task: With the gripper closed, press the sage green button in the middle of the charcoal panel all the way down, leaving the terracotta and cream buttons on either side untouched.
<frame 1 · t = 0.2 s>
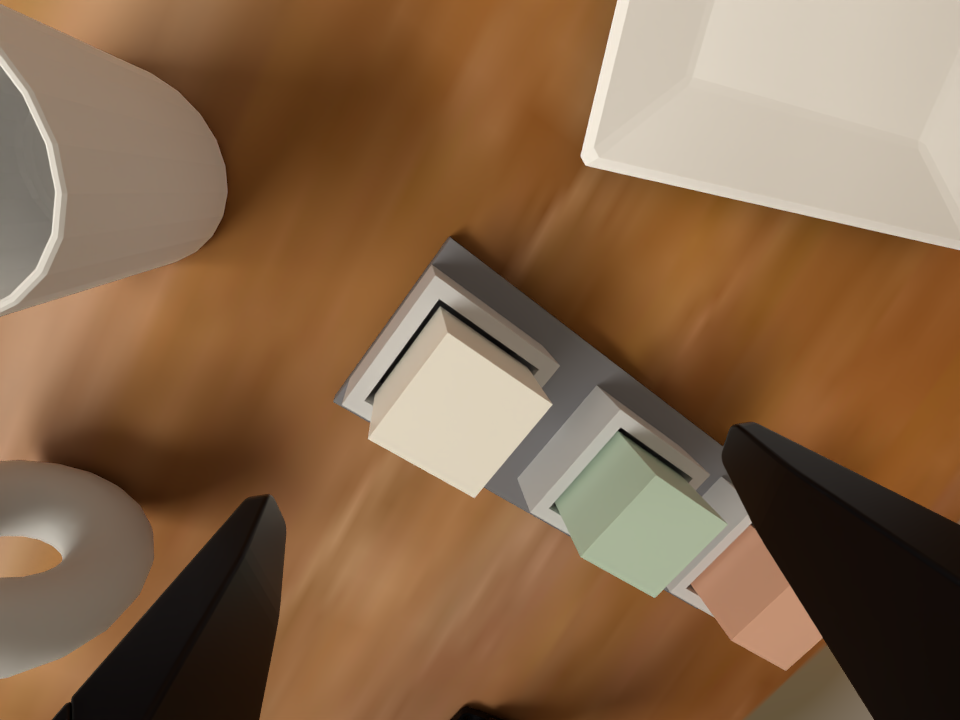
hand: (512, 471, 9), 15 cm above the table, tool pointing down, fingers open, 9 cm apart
donut: (92, 481, 24), on the table
sage button: (635, 511, 23), point 5 cm above the table, slide at 0.0 cm
mug: (104, 209, 20), on the table
terracotta button: (765, 594, 26), point 5 cm above the table, slide at 0.0 cm
button panel: (594, 454, 28), on the table
cream button: (456, 399, 19), point 5 cm above the table, slide at 0.0 cm
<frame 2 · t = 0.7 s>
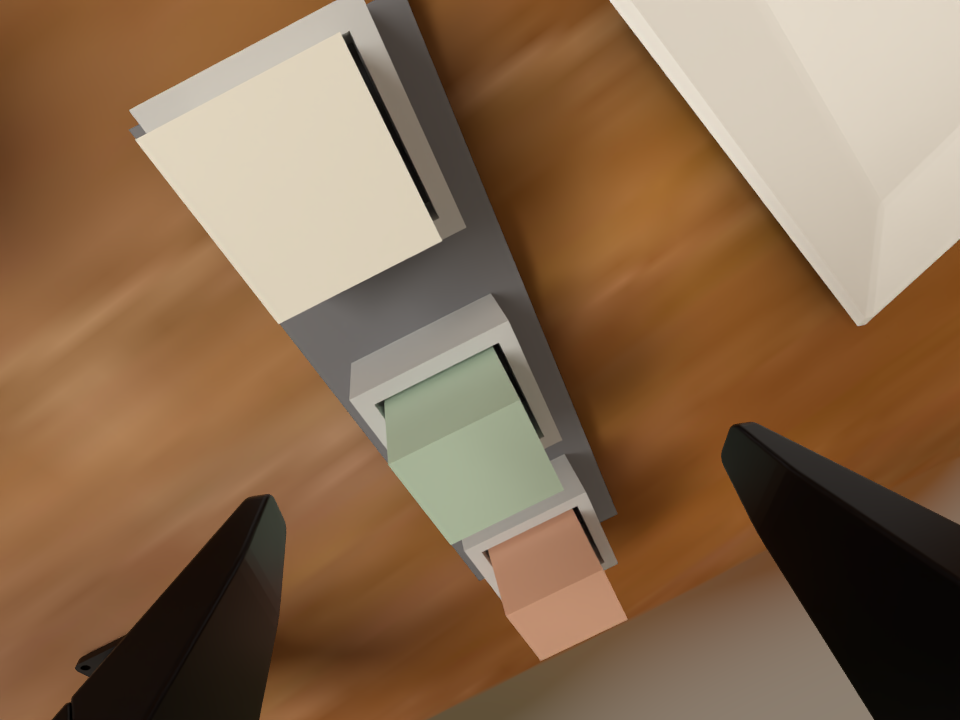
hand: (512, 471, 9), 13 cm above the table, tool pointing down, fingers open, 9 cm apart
sage button: (471, 443, 19), point 5 cm above the table, slide at 0.0 cm
terracotta button: (555, 581, 24), point 5 cm above the table, slide at 0.0 cm
button panel: (451, 376, 23), on the table
cream button: (313, 183, 13), point 5 cm above the table, slide at 0.0 cm
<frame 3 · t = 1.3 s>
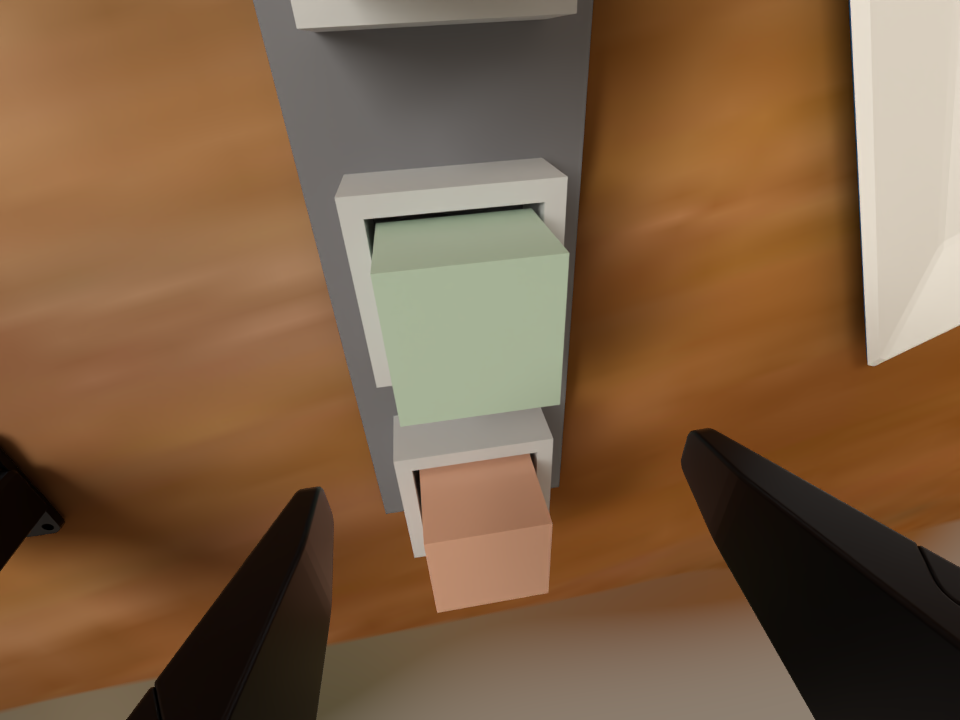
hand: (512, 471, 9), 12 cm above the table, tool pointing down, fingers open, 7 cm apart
sage button: (468, 313, 15), point 5 cm above the table, slide at 0.0 cm
terracotta button: (483, 529, 21), point 5 cm above the table, slide at 0.0 cm
button panel: (451, 252, 19), on the table
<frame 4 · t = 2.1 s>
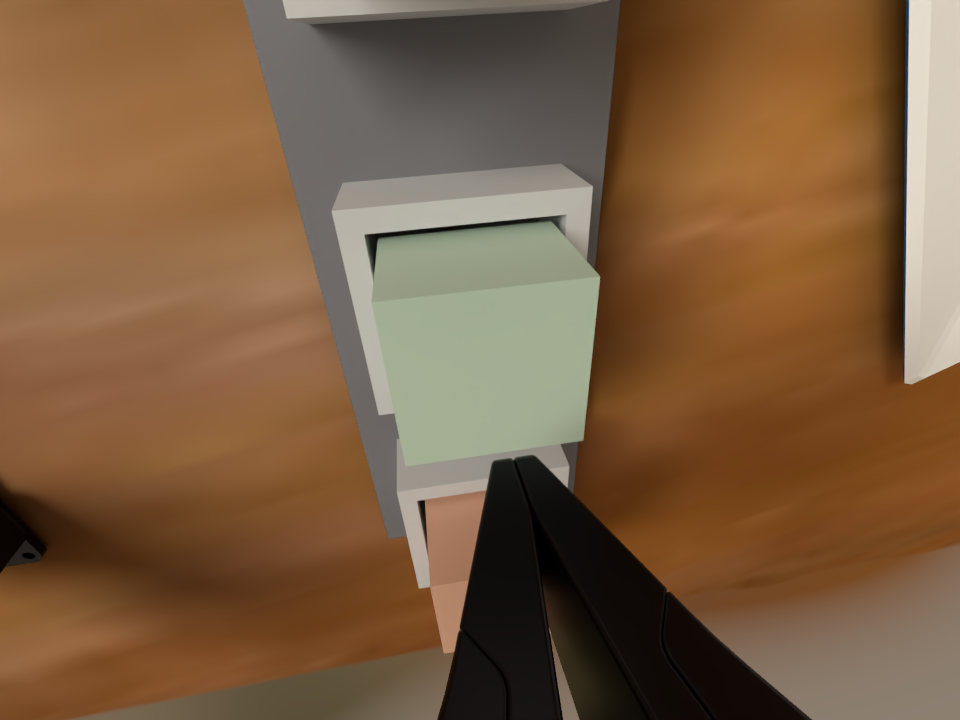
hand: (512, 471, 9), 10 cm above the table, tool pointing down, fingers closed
sage button: (480, 339, 13), point 5 cm above the table, slide at 0.0 cm
terracotta button: (494, 563, 19), point 5 cm above the table, slide at 0.0 cm
button panel: (459, 266, 17), on the table
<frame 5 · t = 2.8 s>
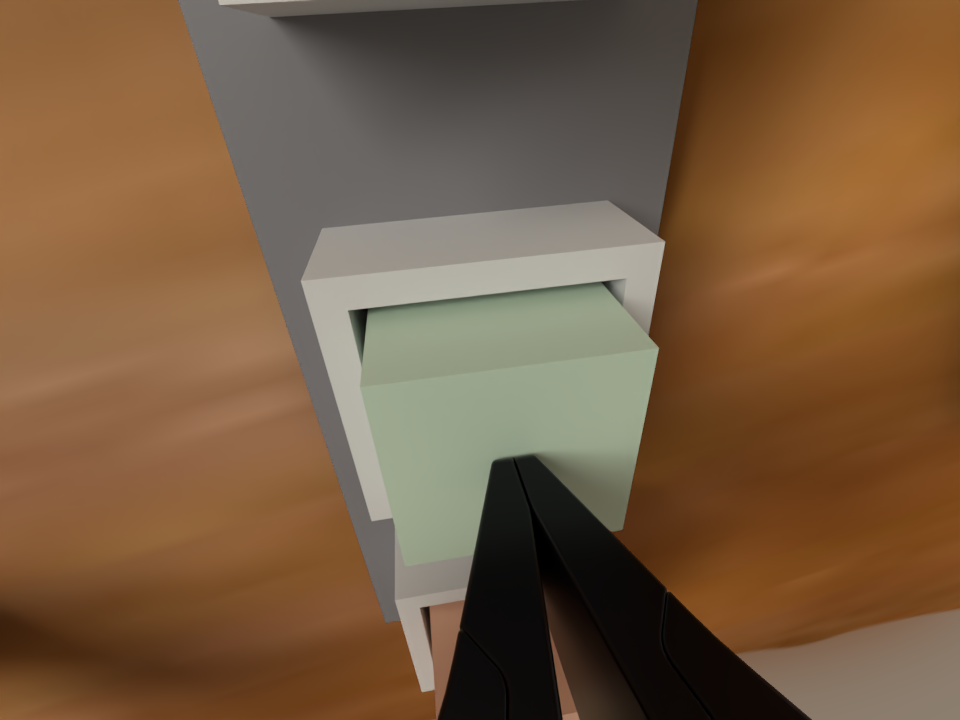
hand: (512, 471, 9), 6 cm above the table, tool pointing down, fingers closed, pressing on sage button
sage button: (496, 406, 11), point 4 cm above the table, slide at 1.4 cm, touching gripper
terracotta button: (514, 679, 16), point 5 cm above the table, slide at 0.0 cm
button panel: (473, 323, 14), on the table
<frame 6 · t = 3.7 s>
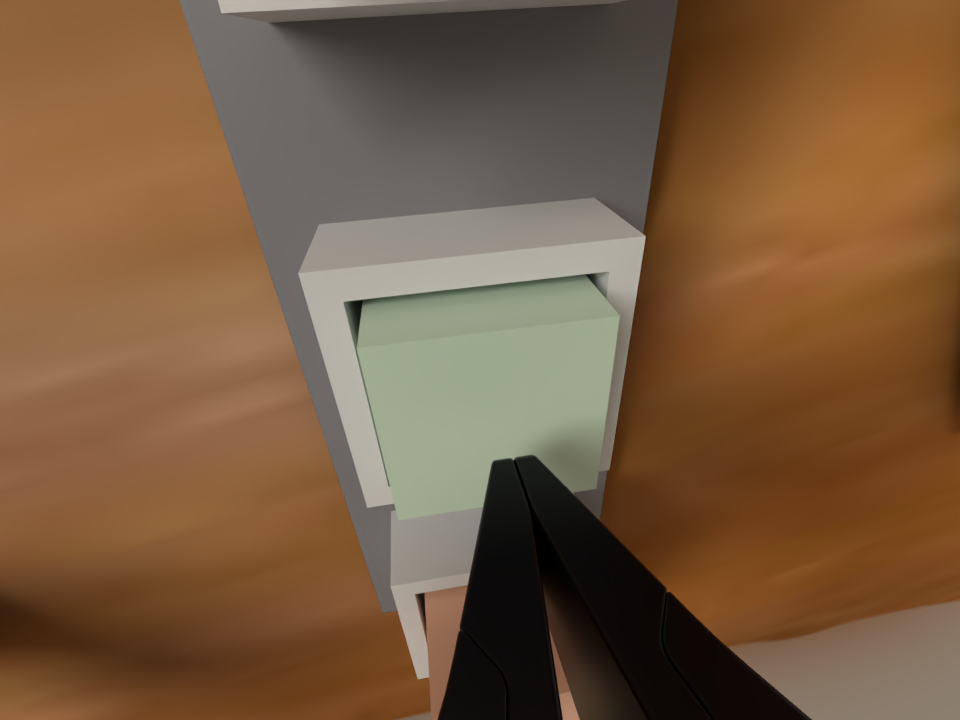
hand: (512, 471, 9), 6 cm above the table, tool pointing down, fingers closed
sage button: (482, 376, 12), point 3 cm above the table, slide at 2.1 cm
terracotta button: (506, 664, 16), point 5 cm above the table, slide at 0.0 cm
button panel: (466, 317, 14), on the table
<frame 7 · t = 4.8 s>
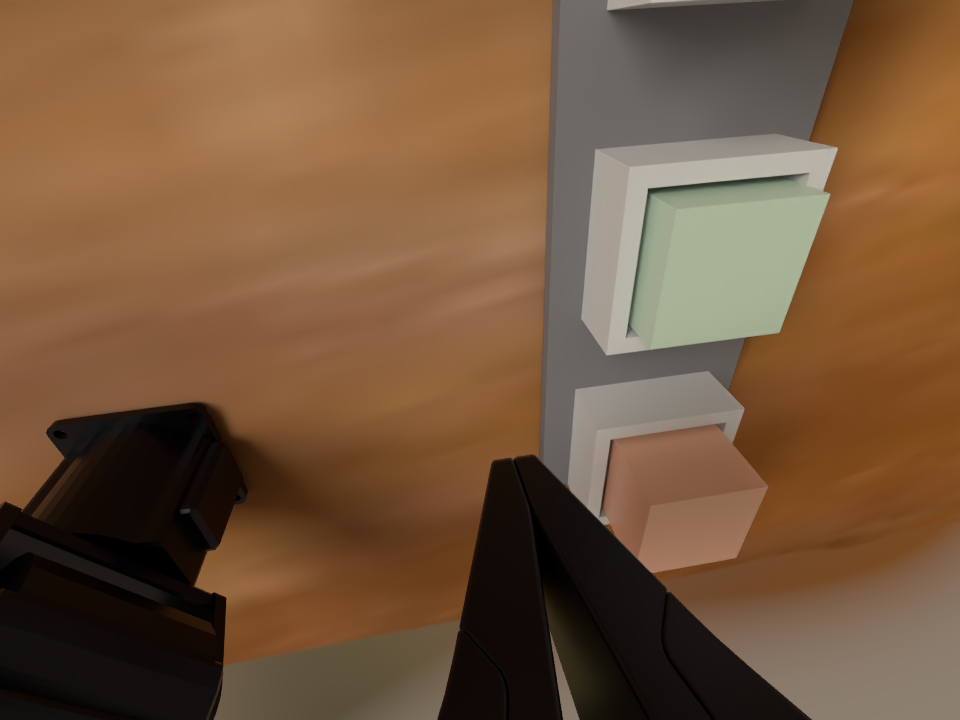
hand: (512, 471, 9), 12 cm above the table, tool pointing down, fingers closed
sage button: (701, 255, 17), point 3 cm above the table, slide at 2.1 cm
terracotta button: (674, 496, 22), point 5 cm above the table, slide at 0.0 cm
button panel: (660, 227, 20), on the table
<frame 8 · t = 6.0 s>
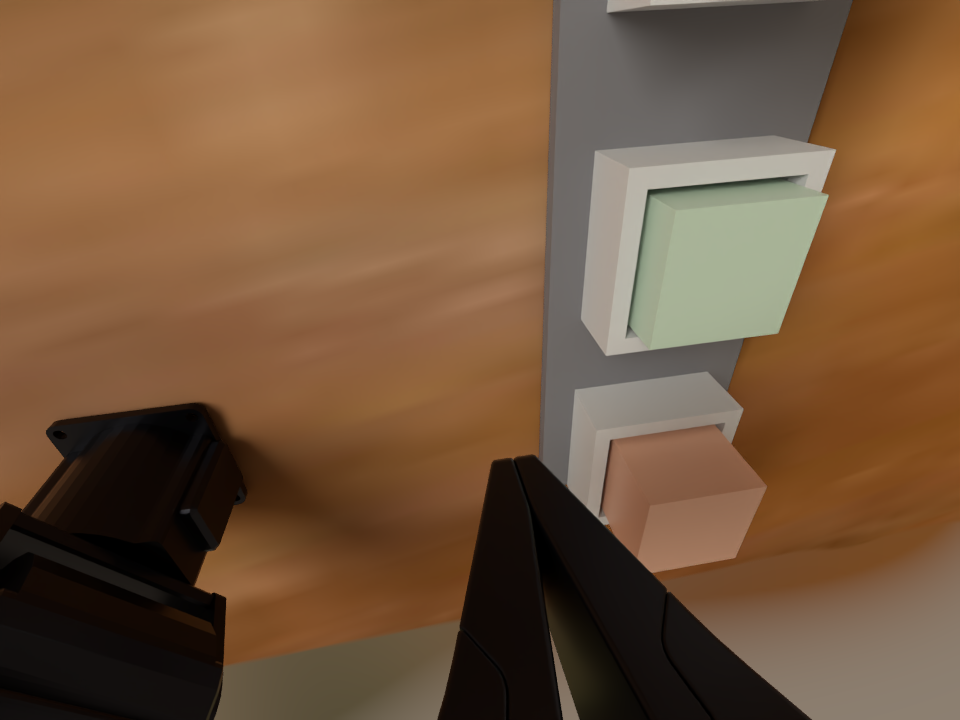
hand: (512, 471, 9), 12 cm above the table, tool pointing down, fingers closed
sage button: (700, 256, 17), point 3 cm above the table, slide at 2.1 cm
terracotta button: (673, 497, 22), point 5 cm above the table, slide at 0.0 cm
button panel: (659, 229, 20), on the table
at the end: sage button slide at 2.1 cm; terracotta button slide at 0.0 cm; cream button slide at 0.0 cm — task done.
